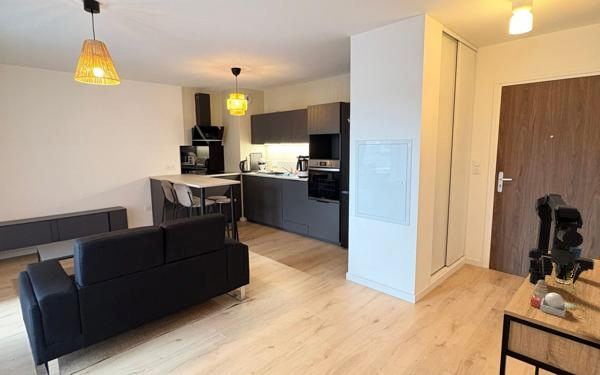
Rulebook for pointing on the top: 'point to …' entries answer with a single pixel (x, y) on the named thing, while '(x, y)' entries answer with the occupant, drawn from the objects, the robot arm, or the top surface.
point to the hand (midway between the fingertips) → (557, 280)
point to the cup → (578, 253)
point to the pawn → (541, 289)
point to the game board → (554, 310)
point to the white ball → (554, 300)
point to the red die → (535, 301)
